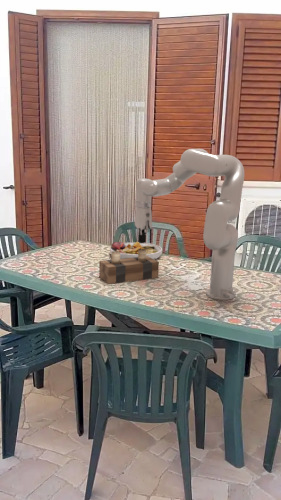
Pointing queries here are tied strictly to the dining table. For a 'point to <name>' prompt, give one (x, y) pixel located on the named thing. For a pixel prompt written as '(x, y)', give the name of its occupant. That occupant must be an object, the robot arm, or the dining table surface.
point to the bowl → (135, 249)
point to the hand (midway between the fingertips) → (141, 242)
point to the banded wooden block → (128, 270)
